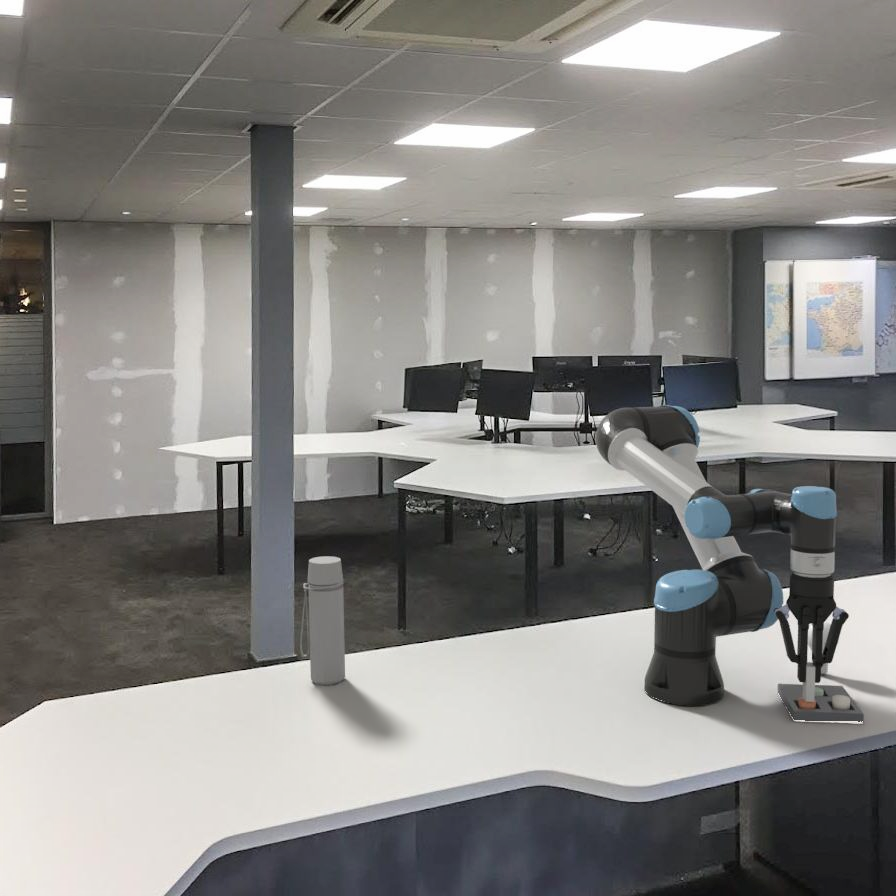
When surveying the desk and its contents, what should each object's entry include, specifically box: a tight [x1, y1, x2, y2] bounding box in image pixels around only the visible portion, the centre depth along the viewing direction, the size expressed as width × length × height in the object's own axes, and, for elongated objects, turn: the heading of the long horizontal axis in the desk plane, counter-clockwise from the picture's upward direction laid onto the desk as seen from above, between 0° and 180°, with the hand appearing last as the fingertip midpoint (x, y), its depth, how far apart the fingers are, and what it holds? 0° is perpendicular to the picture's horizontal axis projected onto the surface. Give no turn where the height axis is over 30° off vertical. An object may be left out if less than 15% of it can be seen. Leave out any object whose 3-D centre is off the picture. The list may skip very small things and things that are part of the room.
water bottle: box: [299, 555, 346, 686], centre depth 201 cm, size 9×8×25 cm
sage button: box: [815, 687, 824, 696], centre depth 188 cm, size 3×3×2 cm
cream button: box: [832, 695, 850, 710], centre depth 181 cm, size 3×3×2 cm
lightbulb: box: [808, 621, 840, 675], centre depth 203 cm, size 6×6×11 cm
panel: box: [777, 683, 865, 722], centre depth 185 cm, size 12×14×2 cm
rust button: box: [798, 697, 816, 709], centre depth 182 cm, size 3×3×2 cm
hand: (808, 698), depth 181 cm, fingers closed
